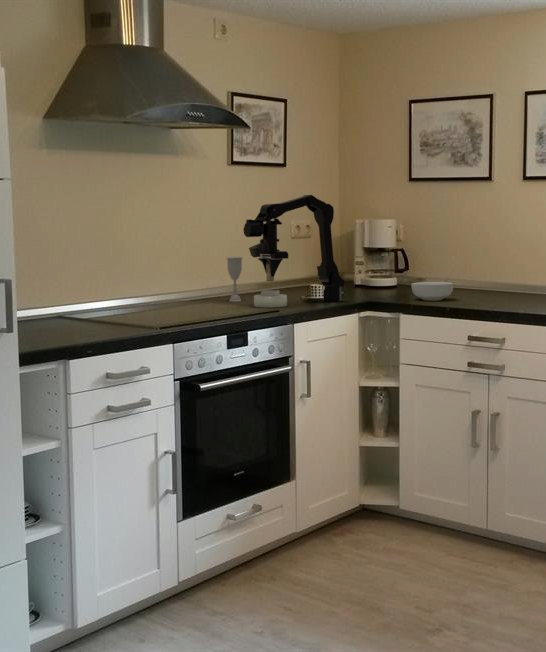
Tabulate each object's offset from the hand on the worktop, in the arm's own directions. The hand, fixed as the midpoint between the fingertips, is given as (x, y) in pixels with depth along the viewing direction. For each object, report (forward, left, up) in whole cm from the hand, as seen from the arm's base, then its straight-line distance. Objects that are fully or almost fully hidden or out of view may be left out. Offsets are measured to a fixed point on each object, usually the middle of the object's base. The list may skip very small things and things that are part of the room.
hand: (270, 276), depth 377 cm
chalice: (+21, -15, -12) cm, 28 cm away
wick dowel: (0, 0, -2) cm, 2 cm away
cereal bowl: (-57, -38, -12) cm, 69 cm away
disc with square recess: (0, 0, -12) cm, 12 cm away
